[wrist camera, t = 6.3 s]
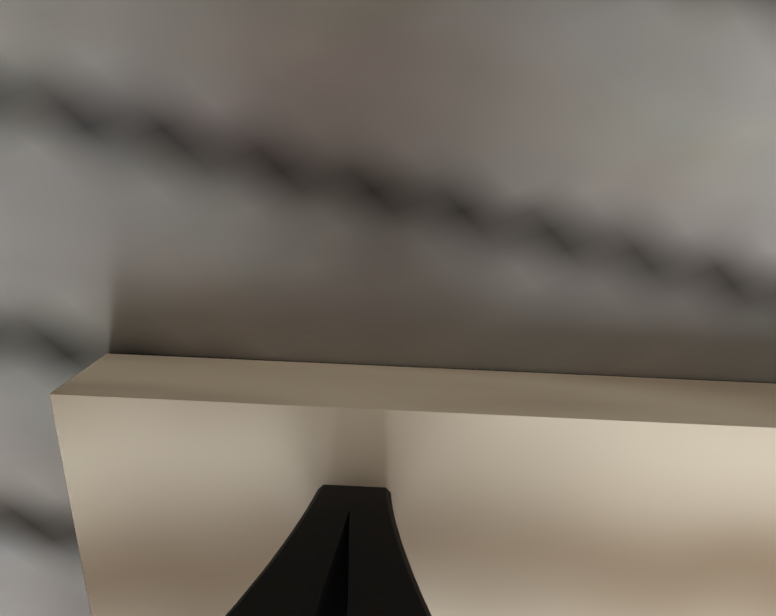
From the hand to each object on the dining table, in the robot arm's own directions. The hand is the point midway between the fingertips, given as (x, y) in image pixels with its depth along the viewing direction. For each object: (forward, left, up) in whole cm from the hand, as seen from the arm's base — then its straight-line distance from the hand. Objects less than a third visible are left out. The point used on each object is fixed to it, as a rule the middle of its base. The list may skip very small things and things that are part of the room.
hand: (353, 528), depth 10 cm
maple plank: (-2, -6, -2) cm, 7 cm away
